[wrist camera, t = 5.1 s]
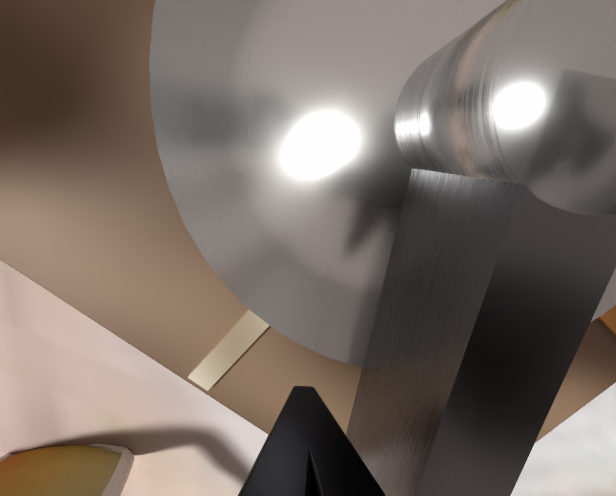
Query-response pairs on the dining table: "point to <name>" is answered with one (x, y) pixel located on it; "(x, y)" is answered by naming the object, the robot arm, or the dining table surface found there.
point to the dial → (405, 203)
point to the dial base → (153, 220)
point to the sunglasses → (66, 471)
